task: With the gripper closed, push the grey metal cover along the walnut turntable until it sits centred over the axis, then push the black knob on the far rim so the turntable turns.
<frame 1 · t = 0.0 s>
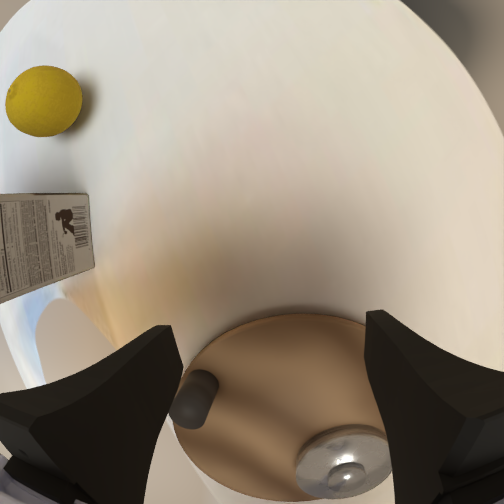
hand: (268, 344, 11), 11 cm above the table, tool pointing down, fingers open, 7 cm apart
cover: (343, 457, 21), point 2 cm above the table, touching turntable
coffee box: (56, 234, 23), on the table
turntable: (296, 447, 19), point 3 cm above the table, hinge at 0.0°, touching cover
lemon: (76, 112, 21), on the table
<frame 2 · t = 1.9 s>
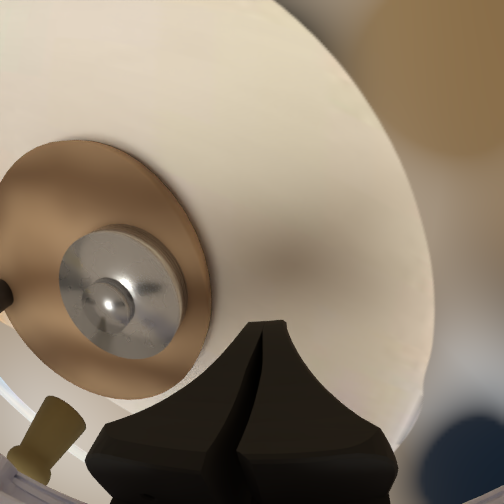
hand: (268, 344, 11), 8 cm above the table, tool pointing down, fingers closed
cover: (127, 287, 18), point 2 cm above the table, touching turntable
turntable: (58, 298, 17), point 4 cm above the table, hinge at 0.0°, touching cover
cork: (65, 413, 28), on the table
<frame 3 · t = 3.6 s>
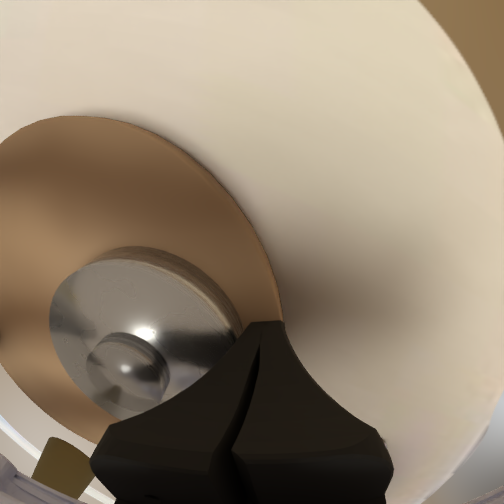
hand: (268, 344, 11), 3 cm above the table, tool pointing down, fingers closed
cover: (151, 337, 12), point 2 cm above the table, touching gripper, turntable
turntable: (58, 349, 12), point 3 cm above the table, hinge at 0.0°, touching cover
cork: (73, 455, 22), on the table
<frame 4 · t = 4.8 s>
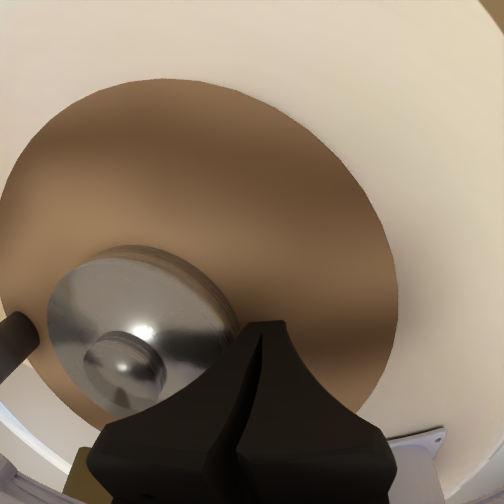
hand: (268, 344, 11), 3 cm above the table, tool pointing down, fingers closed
cover: (148, 335, 12), point 2 cm above the table, touching turntable
turntable: (138, 354, 11), point 3 cm above the table, hinge at 0.0°, touching cover
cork: (106, 464, 21), on the table
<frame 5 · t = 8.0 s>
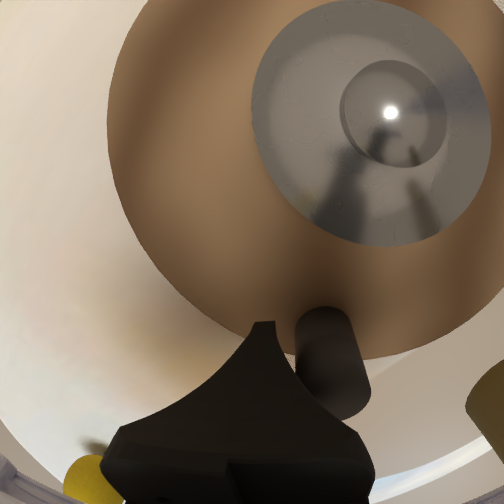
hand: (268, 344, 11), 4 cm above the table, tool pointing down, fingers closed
cover: (370, 121, 10), point 2 cm above the table, touching turntable
turntable: (383, 116, 8), point 3 cm above the table, hinge at 5.2°, touching cover, gripper
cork: (496, 386, 16), on the table
lemon: (111, 455, 22), on the table
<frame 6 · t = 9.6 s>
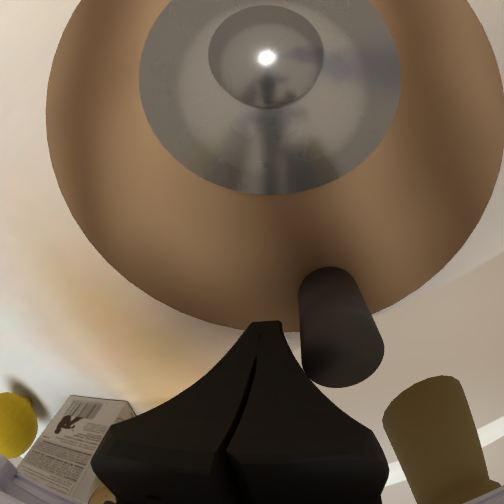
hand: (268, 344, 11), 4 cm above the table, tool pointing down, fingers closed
cover: (270, 76, 10), point 2 cm above the table, touching turntable
coffee box: (122, 433, 20), on the table
turntable: (269, 65, 8), point 4 cm above the table, hinge at 40.0°, touching cover, gripper
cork: (423, 406, 16), on the table
lemon: (30, 398, 21), on the table
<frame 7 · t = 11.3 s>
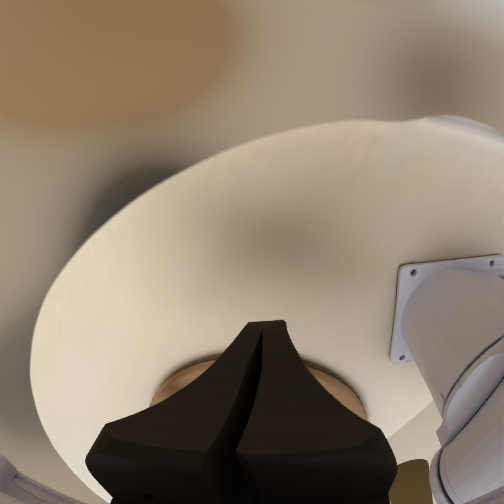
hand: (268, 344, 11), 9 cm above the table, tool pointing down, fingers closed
turntable: (254, 461, 22), point 3 cm above the table, hinge at 40.6°, touching cover
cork: (405, 470, 27), on the table
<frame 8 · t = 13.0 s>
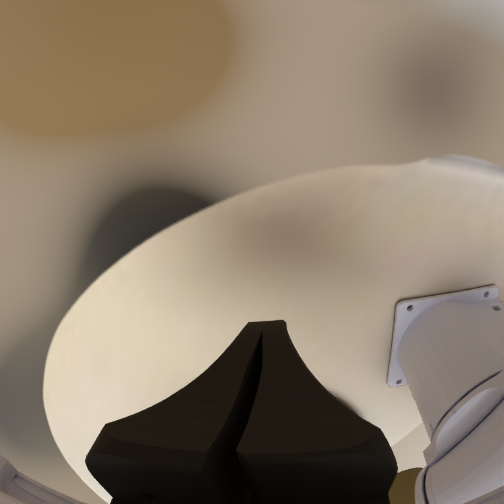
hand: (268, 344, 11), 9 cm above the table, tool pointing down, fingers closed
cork: (404, 478, 28), on the table
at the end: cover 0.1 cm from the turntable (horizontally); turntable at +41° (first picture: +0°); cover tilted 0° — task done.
